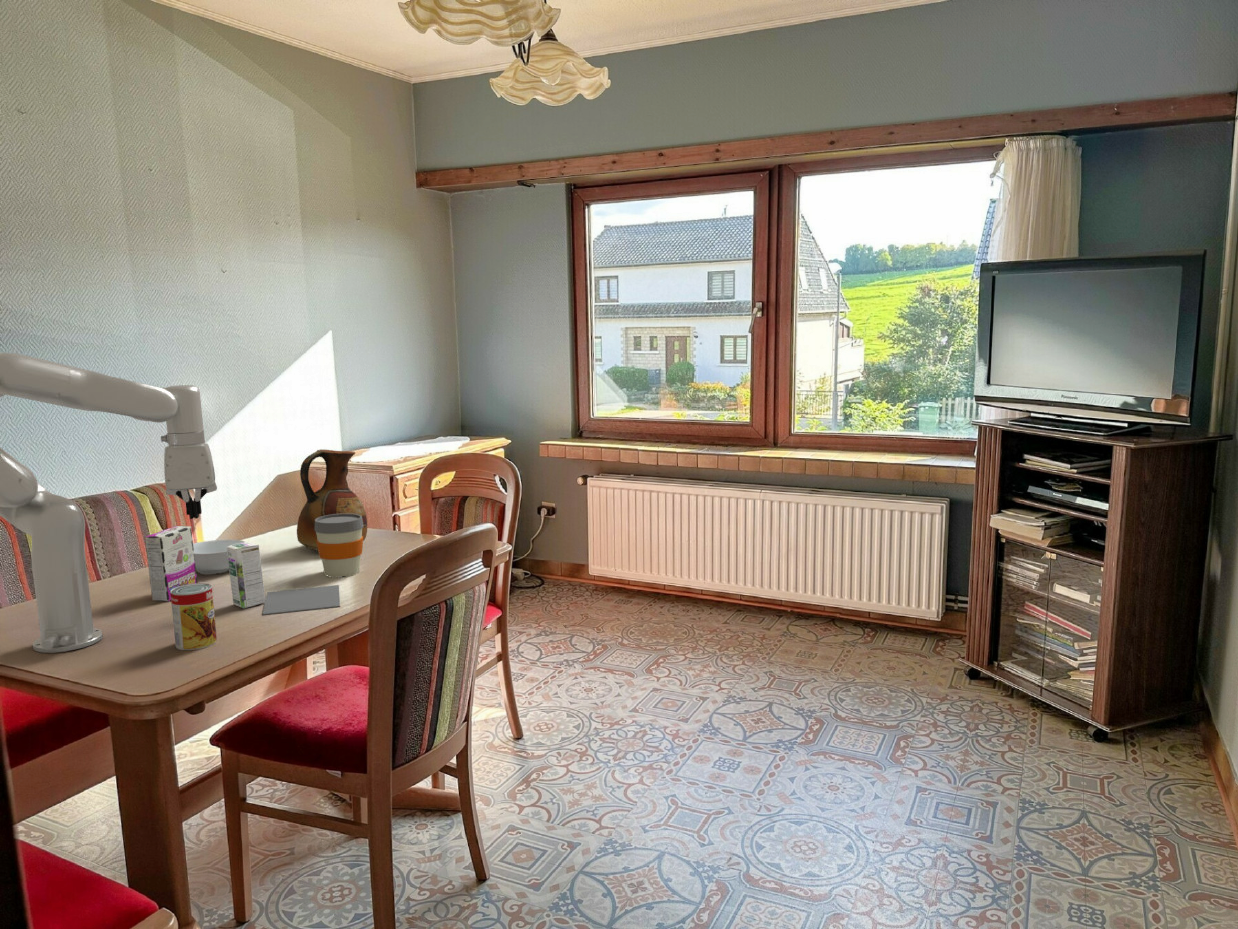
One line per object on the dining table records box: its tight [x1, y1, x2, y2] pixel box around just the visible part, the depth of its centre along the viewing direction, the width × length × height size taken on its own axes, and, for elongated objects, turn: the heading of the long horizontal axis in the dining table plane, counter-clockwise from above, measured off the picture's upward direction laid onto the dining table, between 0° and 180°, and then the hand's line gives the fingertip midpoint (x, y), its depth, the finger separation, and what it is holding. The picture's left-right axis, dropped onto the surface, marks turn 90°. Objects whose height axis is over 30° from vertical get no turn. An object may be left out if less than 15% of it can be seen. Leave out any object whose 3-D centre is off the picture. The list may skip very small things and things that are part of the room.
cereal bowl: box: [193, 539, 245, 575], centre depth 242 cm, size 17×17×7 cm
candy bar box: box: [144, 525, 198, 602], centre depth 219 cm, size 11×5×16 cm, turn 168°
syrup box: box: [227, 541, 266, 609], centre depth 211 cm, size 6×6×14 cm
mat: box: [262, 584, 341, 616], centre depth 214 cm, size 18×17×1 cm
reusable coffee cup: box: [315, 513, 364, 578], centre depth 237 cm, size 13×12×15 cm
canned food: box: [170, 582, 218, 651], centre depth 185 cm, size 8×8×12 cm
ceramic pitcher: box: [296, 448, 368, 551], centre depth 262 cm, size 20×20×30 cm
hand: (194, 517), depth 205 cm, fingers closed
